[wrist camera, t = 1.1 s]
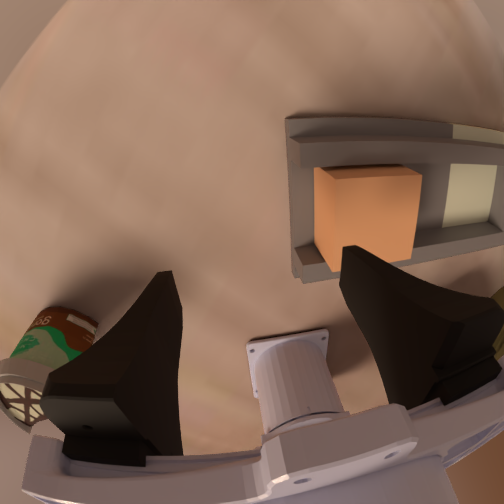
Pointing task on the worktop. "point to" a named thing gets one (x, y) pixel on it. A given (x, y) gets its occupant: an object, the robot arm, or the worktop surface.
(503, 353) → the piston
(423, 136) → the chute
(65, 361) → the food container
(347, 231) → the block
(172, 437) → the robot arm
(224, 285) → the worktop surface
